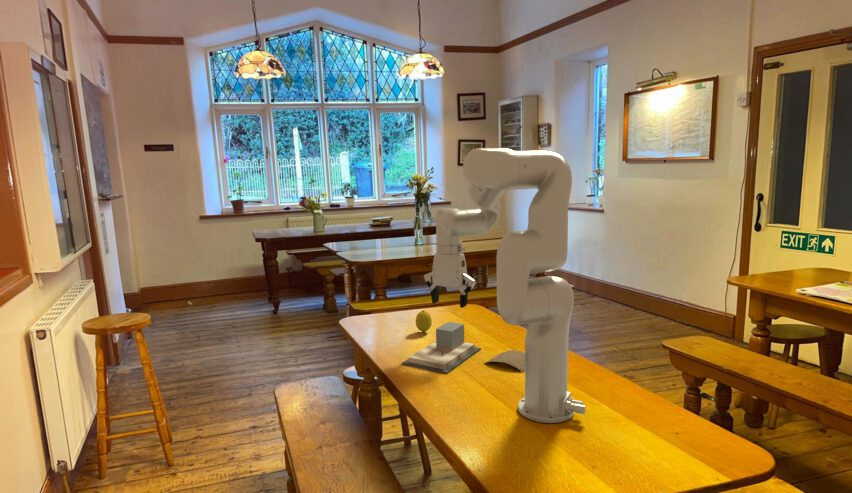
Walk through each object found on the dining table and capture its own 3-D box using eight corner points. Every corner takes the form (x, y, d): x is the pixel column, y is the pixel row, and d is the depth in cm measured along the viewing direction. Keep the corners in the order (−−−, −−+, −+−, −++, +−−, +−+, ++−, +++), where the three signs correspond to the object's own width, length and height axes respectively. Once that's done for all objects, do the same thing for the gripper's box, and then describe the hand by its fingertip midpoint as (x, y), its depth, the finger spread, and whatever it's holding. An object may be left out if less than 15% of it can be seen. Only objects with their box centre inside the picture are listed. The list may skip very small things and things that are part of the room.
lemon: (413, 334, 176) (413, 311, 175) (418, 329, 182) (418, 307, 180) (429, 335, 175) (428, 312, 174) (433, 330, 180) (433, 308, 179)
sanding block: (448, 340, 164) (448, 321, 163) (464, 342, 161) (464, 324, 160) (436, 347, 157) (435, 328, 156) (452, 350, 154) (451, 331, 153)
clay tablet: (541, 364, 149) (541, 355, 149) (527, 376, 141) (527, 366, 140) (497, 354, 157) (497, 346, 157) (480, 365, 149) (480, 356, 149)
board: (439, 341, 168) (439, 336, 168) (481, 349, 160) (480, 343, 160) (401, 364, 150) (401, 357, 149) (446, 374, 142) (446, 367, 142)
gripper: (480, 249, 153) (480, 305, 156) (430, 245, 162) (431, 298, 165) (469, 253, 147) (469, 311, 150) (417, 249, 156) (418, 303, 159)
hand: (449, 304), depth 157 cm, fingers open, 9 cm apart
